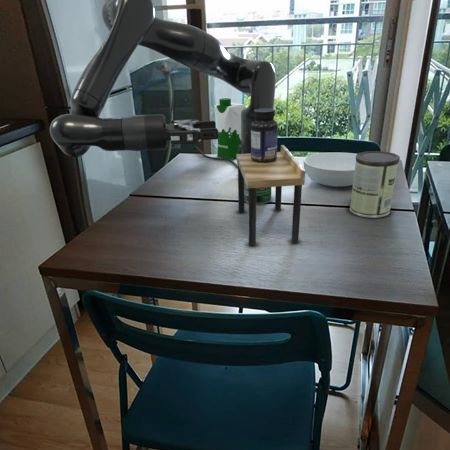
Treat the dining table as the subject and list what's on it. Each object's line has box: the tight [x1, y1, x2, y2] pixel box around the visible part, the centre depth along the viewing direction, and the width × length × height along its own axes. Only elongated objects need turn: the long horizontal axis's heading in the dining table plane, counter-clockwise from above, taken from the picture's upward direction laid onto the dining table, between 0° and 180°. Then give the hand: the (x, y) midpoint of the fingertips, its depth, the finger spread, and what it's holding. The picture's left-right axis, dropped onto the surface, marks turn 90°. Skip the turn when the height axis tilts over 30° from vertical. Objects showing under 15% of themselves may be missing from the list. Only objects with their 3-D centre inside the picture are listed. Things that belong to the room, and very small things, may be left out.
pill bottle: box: [251, 108, 279, 163], centre depth 101 cm, size 6×6×11 cm
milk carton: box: [213, 97, 245, 161], centre depth 160 cm, size 9×9×20 cm
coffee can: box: [349, 150, 401, 219], centre depth 111 cm, size 10×10×14 cm
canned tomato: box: [244, 180, 272, 205], centre depth 122 cm, size 8×8×11 cm
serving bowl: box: [303, 151, 358, 188], centre depth 133 cm, size 21×21×7 cm
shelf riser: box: [235, 144, 306, 247], centre depth 104 cm, size 22×12×17 cm, turn 5°
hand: (216, 129), depth 100 cm, fingers open, 8 cm apart
